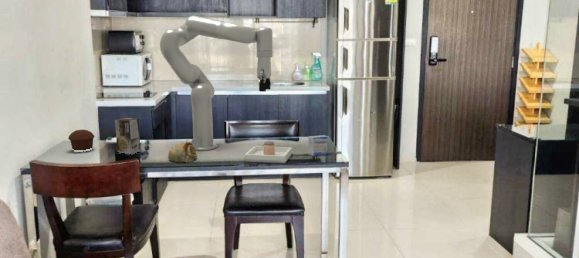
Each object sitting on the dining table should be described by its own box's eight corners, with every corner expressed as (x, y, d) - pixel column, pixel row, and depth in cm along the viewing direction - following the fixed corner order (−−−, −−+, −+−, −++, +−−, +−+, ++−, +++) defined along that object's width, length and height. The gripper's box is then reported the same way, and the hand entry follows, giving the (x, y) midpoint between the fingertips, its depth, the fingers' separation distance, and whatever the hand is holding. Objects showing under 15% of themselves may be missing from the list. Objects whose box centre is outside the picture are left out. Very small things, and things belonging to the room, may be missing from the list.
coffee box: (141, 152, 239) (139, 118, 236) (131, 155, 233) (129, 120, 230) (126, 150, 242) (124, 117, 239) (116, 153, 237) (114, 119, 234)
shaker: (262, 156, 225) (262, 143, 224) (265, 153, 230) (264, 140, 229) (273, 156, 224) (273, 143, 223) (275, 154, 229) (275, 141, 228)
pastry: (198, 162, 219) (198, 144, 218) (169, 164, 216) (168, 146, 215) (195, 155, 233) (194, 138, 231) (167, 157, 229) (166, 139, 228)
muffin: (94, 147, 249) (93, 127, 247) (96, 151, 239) (95, 131, 238) (68, 149, 244) (66, 129, 242) (69, 154, 234) (67, 133, 233)
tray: (244, 161, 220) (244, 154, 220) (254, 152, 238) (254, 146, 237) (284, 163, 217) (284, 156, 217) (292, 153, 235) (292, 147, 234)
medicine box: (313, 156, 230) (313, 137, 228) (308, 154, 234) (308, 136, 232) (327, 154, 233) (328, 136, 232) (322, 152, 237) (323, 134, 236)
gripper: (261, 53, 248) (261, 88, 251) (252, 54, 231) (252, 92, 234) (276, 53, 247) (276, 88, 250) (268, 54, 230) (268, 92, 233)
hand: (264, 90), depth 242 cm, fingers open, 9 cm apart
